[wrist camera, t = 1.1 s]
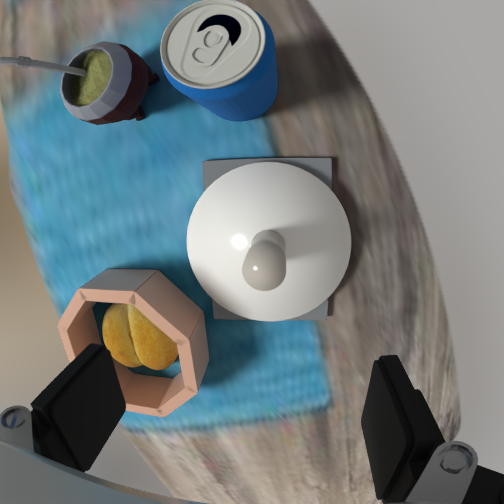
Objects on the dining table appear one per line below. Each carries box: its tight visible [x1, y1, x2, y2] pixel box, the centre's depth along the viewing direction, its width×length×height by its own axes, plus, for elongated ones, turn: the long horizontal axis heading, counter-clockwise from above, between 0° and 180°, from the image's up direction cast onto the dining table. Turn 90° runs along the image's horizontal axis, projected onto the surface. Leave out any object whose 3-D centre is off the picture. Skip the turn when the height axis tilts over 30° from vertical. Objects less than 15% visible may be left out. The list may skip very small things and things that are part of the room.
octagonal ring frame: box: [58, 269, 210, 417], centre depth 30 cm, size 15×15×6 cm
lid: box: [187, 162, 351, 321], centre depth 25 cm, size 14×14×7 cm
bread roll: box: [102, 303, 178, 370], centre depth 31 cm, size 8×9×4 cm
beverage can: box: [160, 0, 278, 121], centre depth 19 cm, size 6×6×12 cm
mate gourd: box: [0, 42, 159, 125], centre depth 19 cm, size 8×8×15 cm
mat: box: [202, 158, 332, 320], centre depth 28 cm, size 15×11×1 cm
